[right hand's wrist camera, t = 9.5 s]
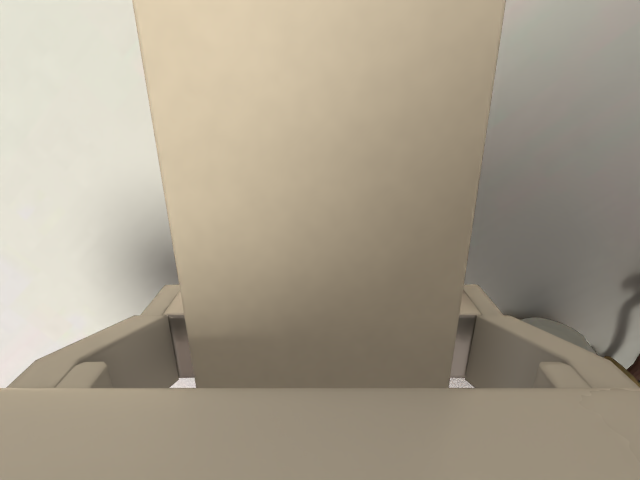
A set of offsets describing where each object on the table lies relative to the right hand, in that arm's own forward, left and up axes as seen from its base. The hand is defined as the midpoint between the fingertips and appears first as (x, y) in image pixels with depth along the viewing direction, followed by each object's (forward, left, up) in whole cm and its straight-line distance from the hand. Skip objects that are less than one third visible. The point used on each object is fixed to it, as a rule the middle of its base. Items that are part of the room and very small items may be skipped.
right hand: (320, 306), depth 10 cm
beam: (+16, -12, -3) cm, 20 cm away
